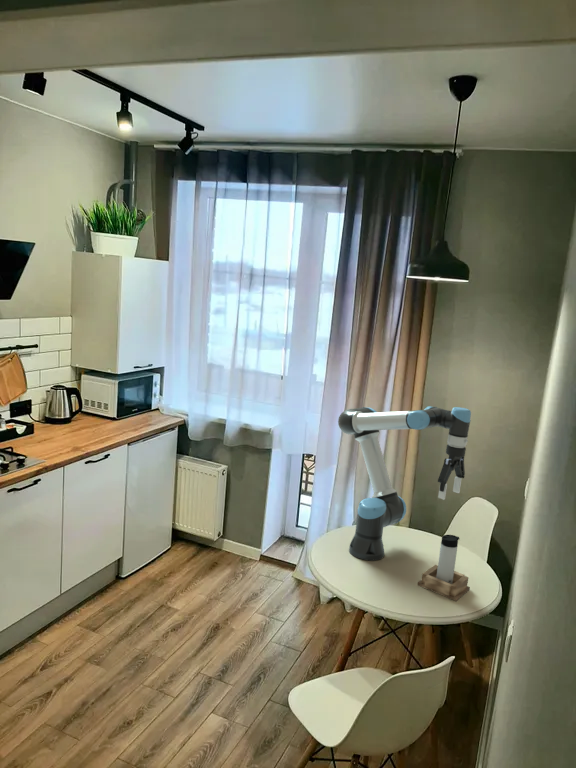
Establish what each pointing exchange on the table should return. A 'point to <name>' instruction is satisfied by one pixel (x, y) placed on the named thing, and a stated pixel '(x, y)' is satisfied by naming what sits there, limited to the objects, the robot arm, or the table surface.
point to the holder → (445, 584)
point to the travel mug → (447, 558)
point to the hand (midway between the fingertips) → (448, 495)
